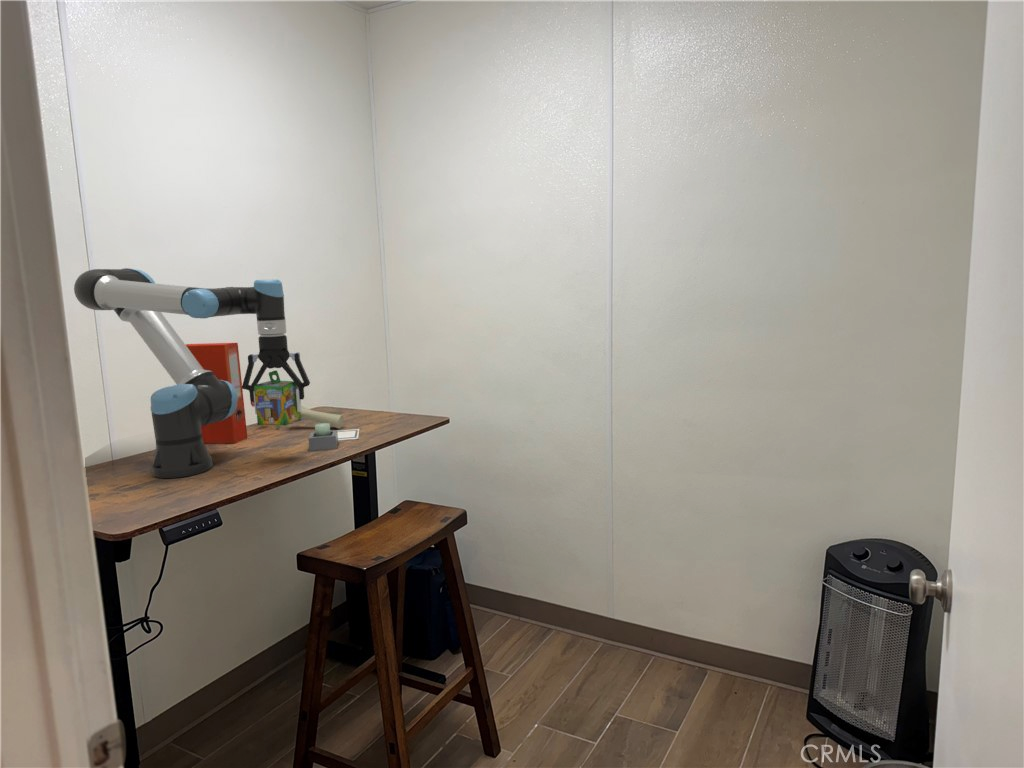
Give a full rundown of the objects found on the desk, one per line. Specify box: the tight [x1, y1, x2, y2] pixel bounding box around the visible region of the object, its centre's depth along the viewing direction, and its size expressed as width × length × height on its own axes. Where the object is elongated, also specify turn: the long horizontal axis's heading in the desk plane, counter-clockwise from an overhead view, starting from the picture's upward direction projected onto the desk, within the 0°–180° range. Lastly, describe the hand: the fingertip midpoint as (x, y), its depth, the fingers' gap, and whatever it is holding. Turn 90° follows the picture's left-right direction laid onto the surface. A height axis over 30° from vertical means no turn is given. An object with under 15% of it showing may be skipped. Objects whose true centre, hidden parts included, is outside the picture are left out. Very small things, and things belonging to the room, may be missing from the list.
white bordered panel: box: [337, 428, 360, 442], centre depth 220 cm, size 12×14×1 cm
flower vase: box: [250, 401, 345, 430], centre depth 235 cm, size 12×12×35 cm
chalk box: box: [254, 370, 301, 427], centre depth 191 cm, size 9×9×15 cm
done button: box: [314, 423, 331, 437], centre depth 206 cm, size 4×4×4 cm
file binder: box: [184, 342, 248, 444], centre depth 218 cm, size 8×17×32 cm, turn 81°
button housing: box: [307, 429, 339, 452], centre depth 207 cm, size 8×8×4 cm
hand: (278, 411), depth 191 cm, fingers closed on chalk box, 11 cm apart
